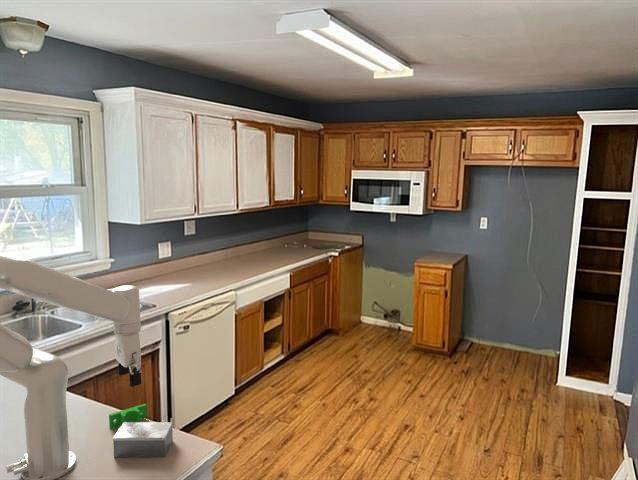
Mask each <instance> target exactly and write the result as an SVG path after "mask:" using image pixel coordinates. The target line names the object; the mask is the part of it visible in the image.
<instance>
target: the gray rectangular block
mask: <svg viewBox="0 0 638 480" xmlns="http://www.w3.org/2000/svg"><path fill="white" fill-rule="evenodd" d="M173 433H174V432H173V422H172V421H170V422H168V421H160V422H159V421H154V422H153V421H151V422H149V421H145V422H144V421H140V422H124V423H123V424H122V426H119V428H118V430H117V432H116V433H115V434H114V436H113V439H112V440H113V443H112V444H113V458H114V459H118V458H119V459H122V458H123V459H125V458H126V459H128V458H129V459H131V458H132V459H133V458H134V459H135V458H137V459H139V458H140V459H141V458H144V459H146V458H147V459H148V458H151V459H152V458H154V459H155V458H159V459H161V458H163V459H165V458H166V457H167V455H168V452H169V450H170V448H171V445H172V443H173V442H174V441H173V437H174V435H173Z"/></svg>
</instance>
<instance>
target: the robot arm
mask: <svg viewBox="0 0 638 480" xmlns="http://www.w3.org/2000/svg"><path fill="white" fill-rule="evenodd" d="M0 289H1V290H5V291H8V292H10V293H11V292H12V293H14V294H17V295H21V296H23V297H28V298H30V299H32V300H33V299H34V300H37V301H40V302H43V303H46V304H49V305H51V306H52V305H53V306H56V307H59V308H63V309H67V310H73V311H78V312H81V313H85V314H87V315H89V316H92V317H96V318H98V319H102V320H106V321H110V322H113V333H114V335H115V336H114V357H115V360H116V361H117V362H118V375H119V376H125V375H127V374H129V375H128V376H129V386H130V388H133V387H136V386H139V385H142V349H141V341H140V334H139V333H140V332H141V330H142V324H141V307H140V306H141V305H140V304H141V303H140V301H141V299H140V290H139V288H138V286H135V285H130V284H129V285H126V284H125V285H124V284H123V285H120V286H117V287H114V288H109V289H107V288H104V287H102V286H99V285H96V284H92V283H90V282H87V281H85V280H83V279H81V278H78V277H76V276H74V275H70V274H68V273H65V272H62V271H60V270H57V269H55V268H52V267H50V266H47V265H45V264H42V263H40V262H37V261H35V260H32V259H29V258H26V257H23V256H19V255H14V254H9V253H3V252H1V253H0ZM0 376H2V377H3V378H5V379H8V380H10V381H12V382H14V383H16V384H18V385H20V386H21V387H23V388H25V389H26V391H27V393H26V396H25V397H26V398H25V401H24V405H23V417H24V426H25V440H26V442H25V443H26V453H24V455H23V456H24V458H22V459H20V460H19V461H17V462H13V463H11V464H10V463H9V464H7V465H5V469H6V470H5V471H6V474H9V473H12V472H13V476H16V475H19V474H20V475H21V478H22V479H23V480H56V479H58V478H61V477H63V476H65V475H66V474H67V473H69V472H70V471H71V470H73V469H74V467H75V465H76V462H77V457H76V455H75V452H74V453H73V451H70V445H69V430H68V429H69V427H68V426H69V425H68V408H67V388H68V387H67V386H68V381H69V368H68V365H67V363H66V362H65V361H64V359H63V358H61V357H60V356H58V355H56V354H53V353H50V352H48V351H45V350H41V349H39V348H37V347H35V346H33V345H32V343H30V341H29V340H28V339H27V338H26V337H25V336H24V335H22V334H20V333H18V332H16V331H13V330H12V329H10V328H8V327H7V326H5V325H4V324H3V323H1V322H0Z"/></svg>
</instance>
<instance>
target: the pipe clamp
mask: <svg viewBox="0 0 638 480" xmlns="http://www.w3.org/2000/svg"><path fill="white" fill-rule="evenodd" d="M147 408H148V407H147V403H143V404H139V405H135V406H134V407H133V406H132V407H129V408H126V409H123V410H119V411H116V412H113V413H112V412H111V413H109V414H108V420H109V421H108V425H109V430H111V429H115V428H118V427H119V428H120V427H121V426H122V424H123V423H124V422H141V420H143V419H146V418H147V416H148V415H147V414H148V413H147V411H148V410H147Z"/></svg>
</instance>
